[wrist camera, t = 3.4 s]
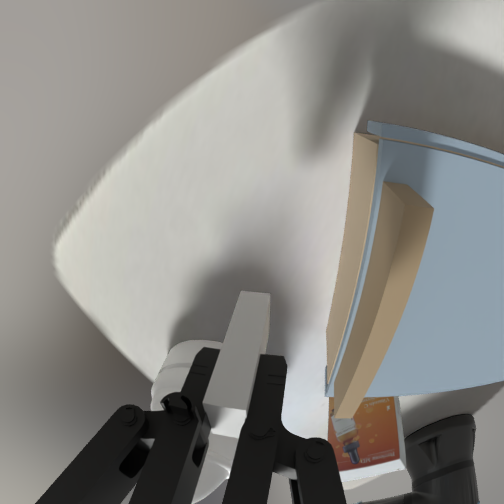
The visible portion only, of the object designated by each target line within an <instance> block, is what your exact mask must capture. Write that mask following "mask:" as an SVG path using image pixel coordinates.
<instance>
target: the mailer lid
mask: <svg viewBox="0 0 504 504" xmlns="http://www.w3.org/2000/svg"><path fill="white" fill-rule="evenodd" d="M367 131H368V132H370V133H373V134H375V135H378V136H380V137H385V138H391V139H397V140H403V141H408V142H414V143H419V144H423V145H428V146H433V147H437V148H441V149H446V150H450V151H454V152H457V153H461V154H465V155H469V156H472V157H476V158H479V159H482V160H485V161H489V162H492V163H495V164H498V165H501V166H504V154H502V153H500V152H497V151H494V150H491V149H488V148H485V147H482V146H479V145H476V144H473V143H470V142H466V141H463V140H459V139H456V138H452V137H448V136H445V135H441V134H437V133H433V132H428V131H424V130H419V129H415V128H410V127H405V126H400V125H394V124H388V123H382V122H376V121H369V120H368V124H367ZM500 381H504V168H502V167H499V166H496V165H493V164H490V163H487V162H484V161H480V160H477V159H473V158H470V157H466V156H463V155H459V154H455V153H451V152H447V151H443V150H438V149H434V148H429V147H425V146H420V145H415V144H410V143H404V142H399V141H393V140H387V139H380V138H379V147H378V158H377V168H376V177H375V185H374V193H373V200H372V207H371V214H370V220H369V226H368V232H367V237H366V243H365V248H364V253H363V258H362V263H361V268H360V272H359V277H358V281H357V286H356V290H355V294H354V298H353V302H352V306H351V310H350V314H349V318H348V322H347V325H346V329H345V332H344V336H343V339H342V343H341V346H340V349H339V353H338V356H337V359H336V362H335V365H334V369H333V372H332V375H331V378H330V381H329V383H328V384H327V366H326V368H325V397H334V418H352V417H353V416H354V414H355V412H356V410H357V409H358V407H359V405H360V403H361V402H362V400H363V398H364V397H390V396H406V395H419V394H429V393H437V392H445V391H452V390H459V389H465V388H471V387H476V386H481V385H486V384H491V383H496V382H500Z"/></svg>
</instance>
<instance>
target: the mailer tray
mask: <svg viewBox="0 0 504 504" xmlns="http://www.w3.org/2000/svg"><path fill="white" fill-rule="evenodd" d="M379 138H380V139H387V140H393V141H399V142H404V143H410V144H415V145H420V146H425V147H429V148H434V149H438V150H443V151H447V152H451V153H455V154H459V155H463V156H466V157H470V158H473V159H477V160H480V161H484V162H487V163H490V164H493V165H496V166H499V167H502V168H504V166H501V165H498V164H495V163H492V162H489V161H485V160H482V159H479V158H476V157H472V156H469V155H465V154H461V153H457V152H454V151H450V150H446V149H441V148H437V147H433V146H428V145H423V144H419V143H414V142H408V141H403V140H397V139H391V138H385V137H380V136H377V135H370V134H363V133H354V141H353V156H352V168H351V179H350V189H349V198H348V207H347V215H346V223H345V230H344V237H343V244H342V250H341V256H340V263H339V269H338V274H337V280H336V285H335V291H334V296H333V301H332V306H331V311H330V316H329V320H328V325H327V329H326V340H327V384H328V383H329V381H330V378H331V375H332V372H333V369H334V365H335V362H336V359H337V356H338V353H339V349H340V346H341V343H342V339H343V336H344V332H345V329H346V325H347V322H348V318H349V314H350V310H351V306H352V302H353V298H354V294H355V290H356V286H357V281H358V277H359V272H360V268H361V263H362V258H363V253H364V248H365V243H366V237H367V232H368V226H369V220H370V214H371V207H372V200H373V193H374V185H375V177H376V168H377V158H378V147H379Z"/></svg>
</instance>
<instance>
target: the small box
mask: <svg viewBox="0 0 504 504" xmlns="http://www.w3.org/2000/svg"><path fill="white" fill-rule="evenodd" d="M328 442H329V443H330V444H331V445H332V447H333V449H334V453H335V457H336V461H337V465H338V469H339V473H340V478H341V482H346V481H350V480H356V479H361V478H366V477H371V476H376V475H380V474H384V473H389V472H392V471H397V470H403V469H406V454H405V443H404V435H403V426H402V418H401V410H400V403H399V398H398V396H390V397H364V398H363V400H362V402H361V403H360V405H359V407H358V409H357V410H356V412H355V414H354V416H353V417H352V418H334V397H329V418H328Z"/></svg>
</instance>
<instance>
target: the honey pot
mask: <svg viewBox="0 0 504 504" xmlns="http://www.w3.org/2000/svg"><path fill="white" fill-rule="evenodd" d="M222 344H223V343H221V342H217V341H209V340H188V341H185V342H181V343H178V344H177V345H175V346H174V347H173V348H171V350H170V352H169V354H168V355H167V357H166V359H165V361H164V363H163V365H162V367H161V370H160V372H159V374H158V376H157V378H156V380H155V382H154V384H153V386H152V389H151V393H152V394H151V395H152V402H151V411H161V410H164V409H163V407H162V405H161V404H160V401H161V400H162V399H163V397H165V396H166V395H168V394H169V393H173V392H181V389H182V387H183V384H184V382H185V380H186V377H187V375H188V373H189V370H190V368H191V366H192V363H193V360H194V358H195V355H196V354H197V353H198V352H199V351H200V350H201V349H202V348H203V347H208V348H215V349H221V347H222ZM208 439H209V447H208V450H207V454H206V457H205V460H204V464H203V467H202V470H201V474H200V477H199V480H198V484H197V487H196V490H195V493H194V497H193V500H192V503H191V504H194V503H196V502H198V501H200V500H202V499H203V498H205V497H206V496H208V495H209V494H210V493H212V492H213V491H214V490H215V489H216V488H217V487H218V486H219V485H220V484H221V483H222V482H223V481H224V480H225V479H229V475H230V471H231V467H232V463H233V459H234V455H235V451H236V447H237V443H238V439H239V438H235V437H229V436H224V435H218V434H213V433H212V431H210V434H209V437H208Z"/></svg>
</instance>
